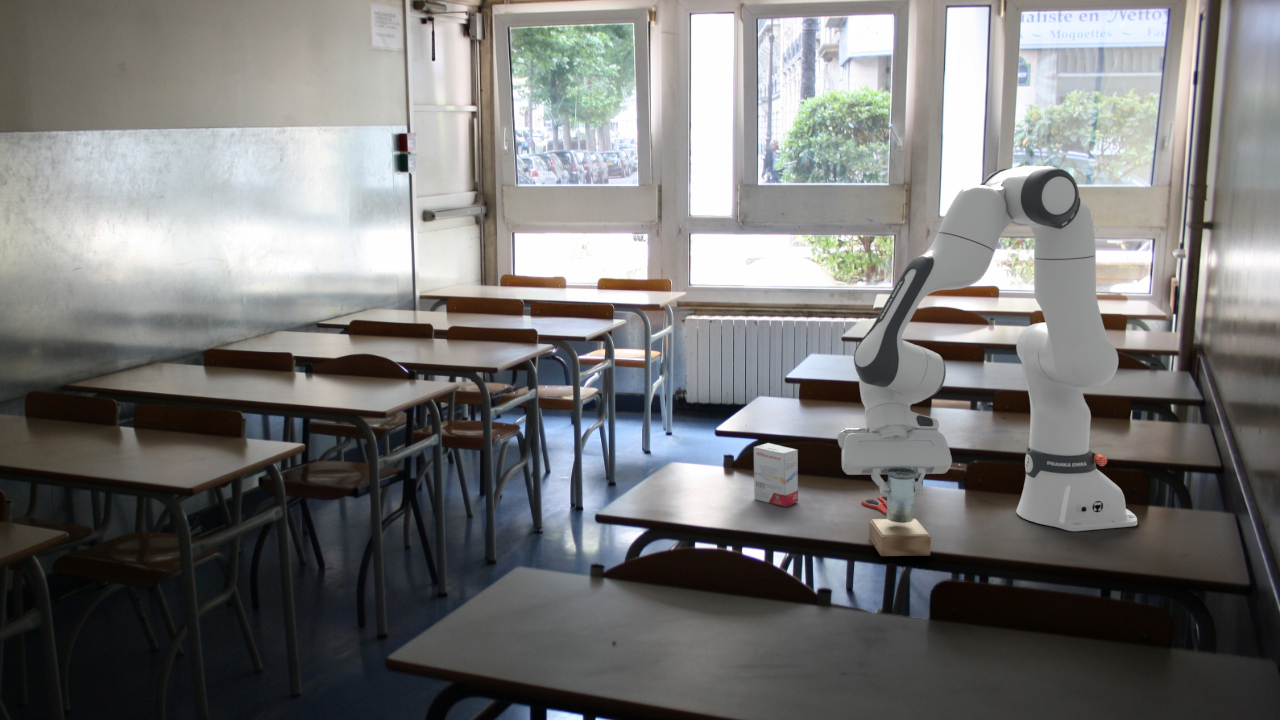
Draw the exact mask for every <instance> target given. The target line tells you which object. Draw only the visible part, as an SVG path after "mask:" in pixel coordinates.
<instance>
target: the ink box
mask: <svg viewBox="0 0 1280 720" xmlns="http://www.w3.org/2000/svg"><path fill="white" fill-rule="evenodd" d="M798 451H799V450H798V449H795V448H792V447H787V446H782V445H779V444H774V443H770V442H767V443H766V442H765V443H764V444H760V445H759V444H758V445H757V446H753V480H754V481H753V483H754V484H753V485H754V486H753V487H754V488H753V491H754V492H753V493H754V494H753V495H754V496H753V497H754V500H757V501H760V502H763V503H764V502H765V503H767V504H773V505H777V506H780V507H784V508H787V507H788V506H792V505H794V504H795V503H797V502H799V486H798V485H799V477H798V476H799V475H798V474H799V473H798V471H799V469H798V468H799V467H798V465H799V464H798V463H799V461H798V458H799V457H798V455H799V454H798V453H799V452H798Z"/></svg>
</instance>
